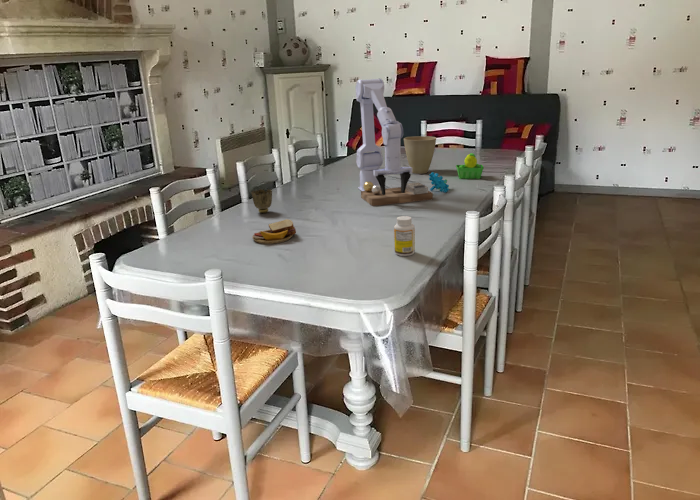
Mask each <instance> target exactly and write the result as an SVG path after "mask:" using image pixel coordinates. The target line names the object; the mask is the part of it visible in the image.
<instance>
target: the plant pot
mask: <svg viewBox="0 0 700 500" xmlns="http://www.w3.org/2000/svg"><path fill="white" fill-rule="evenodd" d="M436 142H437V137H435V136H429V135H428V136H427V135H421V136H406V137H404V138H403V144H404V150H405V155H406V159H407V163H408V167H412V173H411V174H416V175H420V174H421V175H422V174H427V173H428V172H429V169H430V167H431V163H432V161H433V158H434V153H435V148H436Z"/></svg>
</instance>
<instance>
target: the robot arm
mask: <svg viewBox="0 0 700 500" xmlns="http://www.w3.org/2000/svg"><path fill="white" fill-rule="evenodd" d="M384 83H385V82H384V80H383V79H382V78H381V77H380V78H369V79H368V78H367V79H358V80H357V81H356V84H355V99H356V102H359V103H360V104H359V105H360V116H361V117H360V119H361V132H362V134H361V135H362V145H360V147H359V148H357V150H356V157H355V161H356V166H357V168H358V169H359V170H360V171H359V186H358V187H357V189H358V190H360V192H361V191H365V190H364V188H363V185H364V183H365V182H368V181H369V182H372V183H373V185H378V186H380V188H381V192H382V194H383V195H385V189H386V182H387V181H386V179H387V178H386V177H385V176H387V175H389V176H390V175H397V174H399V175H400V187H401V192H402V193H405V189H406V185H407V184H408V183H409V180H410V178H411V175H412V174H413V173H412V167H410V166H401V165H402V164H401V160H402V159H401V153H402V152H401V139H402V138H403V136H404V128H403V124H402V123H401V122H399V120H397V118H396V117H395V115H394V112H393V110H392V109H391V108H390V107H388V106H387V102H386V99H385V97H384V94H385V84H384ZM374 106H375V108H376V110H377V113H376V116H377V120H378V121H379V122H378V123H379V124H380V126H381V137H382V143H383V145H384V157H383V154H382V153H383V151H382V148H381V147H380V146H378V145H377V144H376V135H375V120H374V119H375V118H374ZM383 163H384V164H385V165H384V168H381V167H382V166H383Z"/></svg>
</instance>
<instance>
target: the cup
mask: <svg viewBox="0 0 700 500" xmlns="http://www.w3.org/2000/svg"><path fill="white" fill-rule="evenodd" d="M251 197H252V201H253V202H252V203H253V205H254V207H255V208H256V209H258V210H257V211H258V213H259V214H267V213H269V212H270V211H269V208H270V207H272V202H273V190H272V189H267V190H265V188H263V189H262V188H259V189H255V190H252V191H251Z"/></svg>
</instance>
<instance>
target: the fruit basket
mask: <svg viewBox="0 0 700 500" xmlns="http://www.w3.org/2000/svg"><path fill="white" fill-rule="evenodd" d="M463 162H464V164H456V165H455V167H456V171H457V175H458V178H459V180H464V179H465V180H467V179H469V180H474V179H475V178H476V180H477V179H478V180H479V179H481V178H482V173H483V170H484V169H485V168H484V165H482V164H479V163H478V159H477V158H476V155H475V153H472V152H471V153H469V154H467V155H466V157H465V158H464V161H463Z"/></svg>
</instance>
